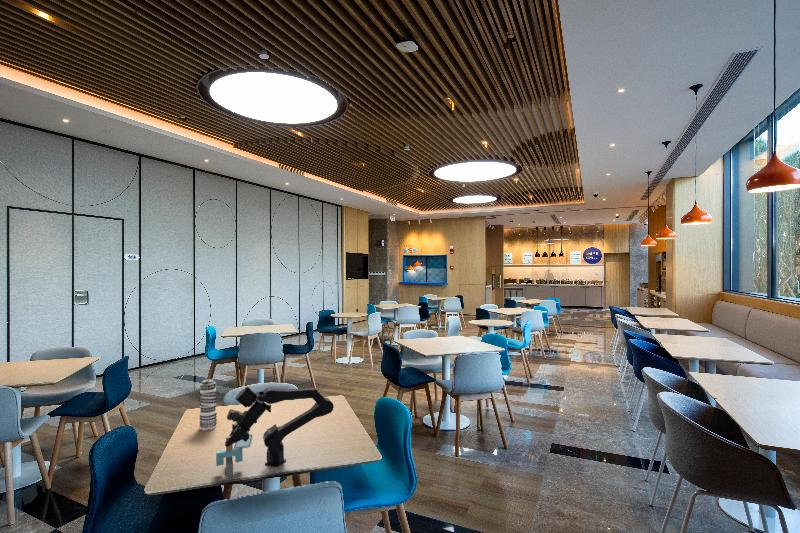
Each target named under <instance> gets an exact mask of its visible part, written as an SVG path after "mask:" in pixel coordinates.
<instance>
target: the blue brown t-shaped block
mask: <svg viewBox="0 0 800 533" xmlns="http://www.w3.org/2000/svg"><path fill="white" fill-rule="evenodd" d="M230 437H231V436H229V435H226V436H225V442H226V443H227V441H228V440H229V438H230ZM233 445H234V444H232V445H230V446H228V447H226V446H225V449H222V450H216V451H215V452H216V454H215V458H216V459H215V462H216V463H215V464H216V465H215V467H216V466H217V467H219V466H224V464H225V463H224V459H226V457H231V456H232V457H235V458H234V461H235V463H240V462H241V463H242V462H243V461H244V460H243V459H244V458H243V456H244V455H243V453H244V452H243V448H242V447H239V448H234V446H233Z"/></svg>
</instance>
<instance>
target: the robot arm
mask: <svg viewBox="0 0 800 533" xmlns="http://www.w3.org/2000/svg"><path fill="white" fill-rule="evenodd" d="M234 399H235V401H236V402H238V403H239V404H240V405H241V406H242V407H244V408H248V409H246V410H244V411H243V412H241V411H238V410H235V409H232V408H230V409H229V411H228V413H227V414H226V415H227V416H226V419H227V420H228V421H232V422H233V423H232V424H231V431H230V433H229V435H228V436H231V437H230V438H229V440H228V441H227V443H226V441H225V442H224V446H225V448H226V447H228V446H230V445H232V444H233V445H235V443H236V442H238V441H240V440H243V441H245V442H246V441H247V440H248V439H249V435H250V431H251V428H252V427H253V425H254V424H257V423H258V420H259V419H260V418H261V416H262V415H264V413H265V412H266V411H267V412H268V413H271V412H272V404H276V403H280V402H282V401H287V400H303V399H312V400H314V402H315V403H314V404H313V405H312V406H311V408H309V409H307V410H306V411H304V412H303V413H301V414H299V415H298V416H296V417H294V418H293V419H291V420H289V421H288V422H286V423H285V424H283V425H280V426H277V424H276V423H275V424H274V425H272V426H270V428H266V431H265V432H264V433H263V436H262V439H263V440H262V441H263V443H264V446H265V447H266V448H267V449H266V450H267V451H266V462H265V463H264V465H266V466H272V467H279V466H280V465H282V464H283V463H286V461H287V459H286V458H285V448H284V443H283V440H284V439H285V438H286V437H287V436H288V435H290V434H291V433H293V432H294V431H297V429H299V428H301V427H303V426H304V425H306V424H308V423H309V422H312V421H313V420H314V419H316V418H321V417H324V416H327V415H329V414H332V412H333V410H334V407H335V406H334V403H333V402H332V401H331V399H329V398H328V397H325V396H323V395H322V394H321V393H320V392H319V390H317V389H316V387H305V388H289V389H287V388H285V389H283V388H279V387H272V386H269V387H266V388H265V389H264V390H261V391H258V392H255V391H254V390H252V389H251V387H250V386H246V387H245V388H242V390H240V391H239V392H238V394H237V395H236V396H235V398H234ZM234 422H235V423H234Z"/></svg>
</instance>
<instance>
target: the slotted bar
mask: <svg viewBox="0 0 800 533" xmlns="http://www.w3.org/2000/svg"><path fill="white" fill-rule="evenodd" d="M225 475H226V477H230V476H233V477H234V460H233V456H231V457H225ZM230 478H231V477H230Z"/></svg>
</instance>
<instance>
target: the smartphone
mask: <svg viewBox="0 0 800 533" xmlns="http://www.w3.org/2000/svg"><path fill="white" fill-rule="evenodd" d="M253 436H254V434H253V433H251V434H250V433H249V439H248V440H247V441H246V442H245V441H243V440H240V441H238V442H236V443H234V444H233V445H234V446H233V448H239V447H242V449H244V448H250V447H251V444H252V440H253Z"/></svg>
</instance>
